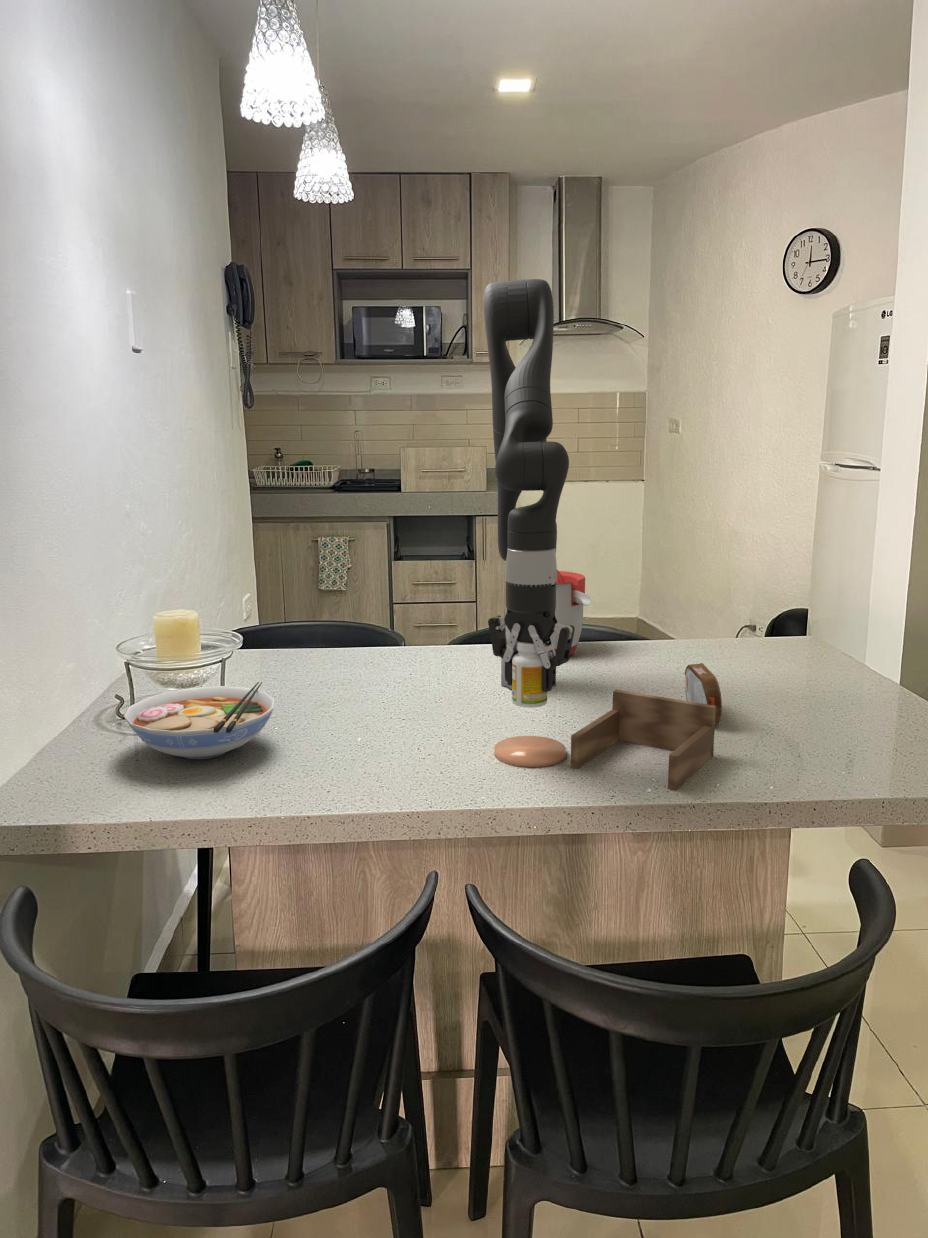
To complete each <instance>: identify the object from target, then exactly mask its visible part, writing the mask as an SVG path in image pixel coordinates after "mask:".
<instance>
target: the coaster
mask: <svg viewBox="0 0 928 1238" xmlns="http://www.w3.org/2000/svg"><path fill="white" fill-rule="evenodd" d="M566 751H567V748H566V745H565V744H564V743H562V742H561V741H559V740H557V739H554V738H551V737H546V736H538V735H520V736H512V737H507V738H504V739H502V740H500V741H498V742H497V743H496V744H495V745H494V757H495V758H496V759H497V760H498V761H500V762H502V763H504V764H507V765H511V766H514V767H519V768H520V767H522V768H542V767H549V766H553V765H556V764H558V763H561V762H563V760H565V759H566V755H567V752H566Z"/></svg>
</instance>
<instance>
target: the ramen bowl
mask: <svg viewBox="0 0 928 1238" xmlns="http://www.w3.org/2000/svg"><path fill="white" fill-rule="evenodd" d="M262 684H263V682H262V681H261V682H259V681H258V682H257V683H256V684H255V685H254V686H253V687H252V688H250V687H242V686H229V685H228V686H225V685H216V686H215V685H213V686H201V687H200V686H198V687H197V686H195V687H190V688H184V689H178V690H170V691H165V692H162V693H159V694H155V695H151V696H148V697H145V698H143V699H141V700H139V701H136V702H135V703H134V704H132V705H129V706H128V707H127V709H126V711H125V713H124V714H123V718H124V719H125V720H126V721H125V722H126V723H127V724H128V725H129V727H130V728H131V729H132V730H133V731H134V733H135V734H136V735H137V737H139V738H140V739H141V741H142V742H144V743H145V744H146V745H147V746H148V747H149V748H152V749H154V750H155V751H158V752H161V753H164V754H167V755H170V756H174V757H182V758H185V759H188V760H207V759H213V758H216V757H220V756H223V755H225V754H226V753H227V752H230V751H232V750H235V749H237V748H240V747H242V746H244V745H245V744H246V743H248V742H250V741H251V740H252V739H253V738H255V737H256V736H257V735H259V734H260V732H262V730H263V728H265V726H266V724H267V723H268V721H269V720H270V718H271V715H272V713H273V711H274V708H275V698H274V697H273V696H271V695H270V694H268V693H267V692H266V691H263V690H259V688H260V687H261V685H262ZM257 685H258V686H257Z"/></svg>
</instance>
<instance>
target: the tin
mask: <svg viewBox="0 0 928 1238" xmlns="http://www.w3.org/2000/svg"><path fill="white" fill-rule="evenodd" d="M684 675H685V698H686V701H689V702H695V703H701V704H707V705H713V706H716V714H715V724H719V723H720V722H721V719H722V712H723V705H722V704H723V703H722V702H723V700H722V695H721V693H722V692H721V688H720V685H719V682H718V679H717V677H716V675H715V674H714V673H713V672H712V671H711V670H710V669H709V668H708V667H707V666H706V665H705V664H704V663H703V662H699V663H694V664H688V665H686V667H685V670H684Z"/></svg>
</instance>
